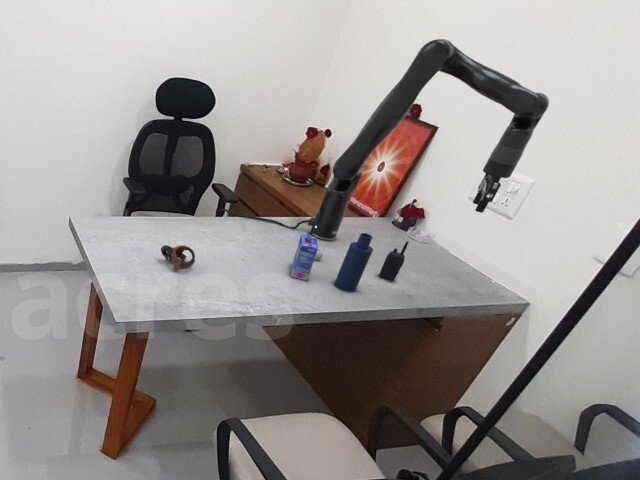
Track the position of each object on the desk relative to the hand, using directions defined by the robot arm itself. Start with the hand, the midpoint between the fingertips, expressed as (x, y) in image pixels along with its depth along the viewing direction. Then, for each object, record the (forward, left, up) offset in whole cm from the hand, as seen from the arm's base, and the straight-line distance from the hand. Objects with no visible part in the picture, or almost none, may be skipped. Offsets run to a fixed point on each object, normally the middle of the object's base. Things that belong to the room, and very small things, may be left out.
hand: (477, 207), depth 171 cm
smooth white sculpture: (-40, -20, -27) cm, 53 cm away
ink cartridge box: (-40, -37, -27) cm, 61 cm away
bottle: (-25, -35, -27) cm, 51 cm away
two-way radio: (-15, -18, -27) cm, 36 cm away
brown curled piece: (-74, -64, -27) cm, 102 cm away
